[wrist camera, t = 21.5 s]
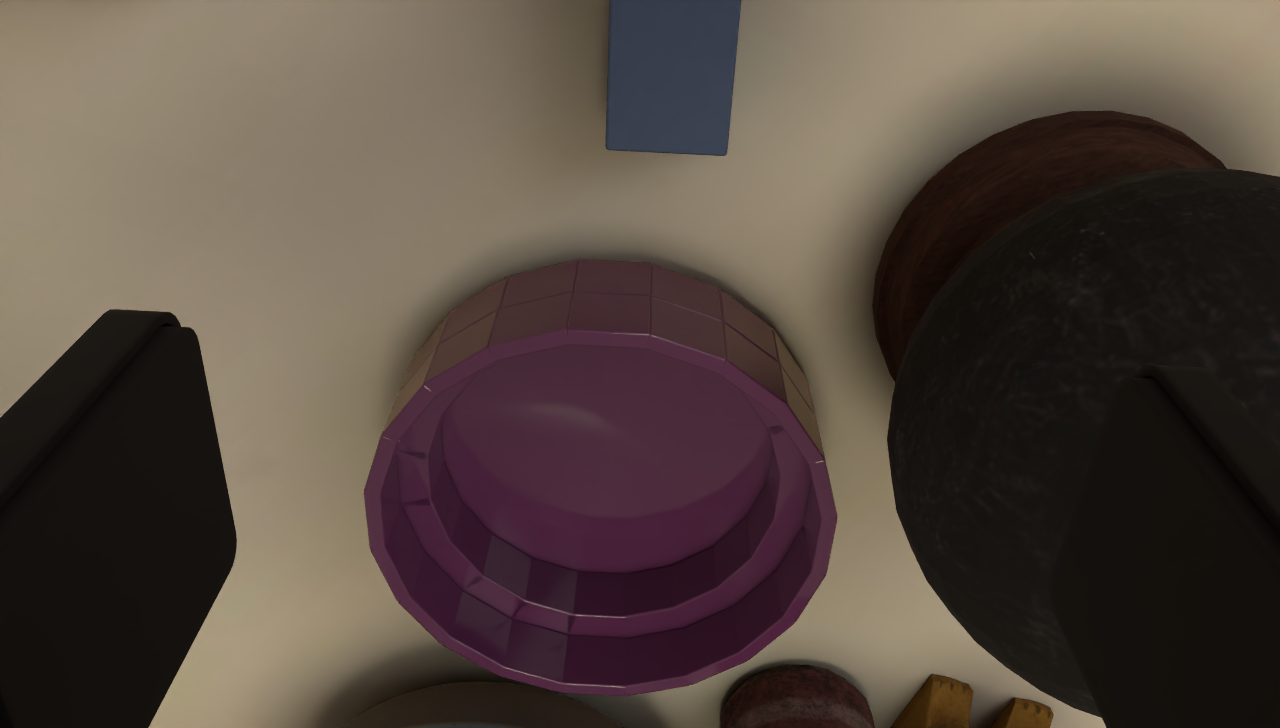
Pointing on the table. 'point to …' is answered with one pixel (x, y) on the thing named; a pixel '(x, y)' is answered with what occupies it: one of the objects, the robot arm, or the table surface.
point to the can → (796, 701)
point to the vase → (481, 709)
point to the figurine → (965, 708)
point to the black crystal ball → (1057, 345)
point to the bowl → (602, 481)
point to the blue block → (671, 75)
